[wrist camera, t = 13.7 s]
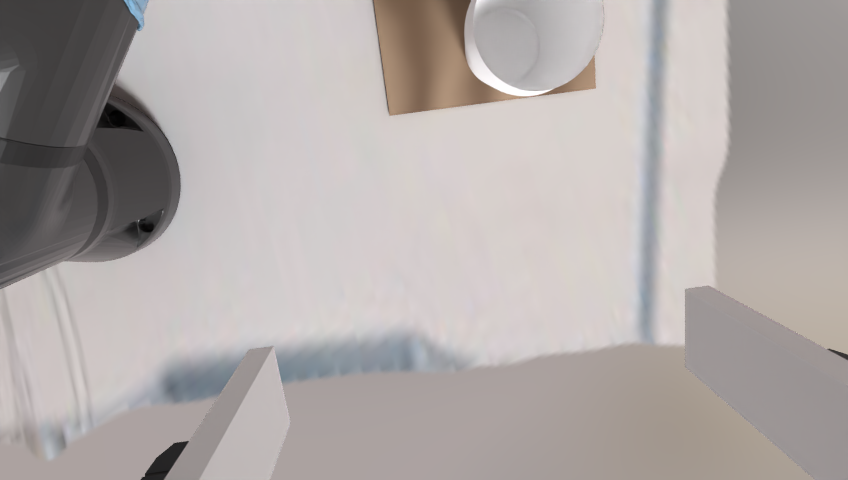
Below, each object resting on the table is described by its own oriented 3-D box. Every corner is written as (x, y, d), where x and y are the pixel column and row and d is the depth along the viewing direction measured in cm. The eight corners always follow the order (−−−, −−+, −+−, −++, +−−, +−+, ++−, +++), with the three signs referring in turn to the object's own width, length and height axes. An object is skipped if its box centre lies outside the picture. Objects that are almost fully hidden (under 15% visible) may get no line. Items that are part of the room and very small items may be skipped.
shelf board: (389, 115, 45) (389, 115, 42) (371, -17, 43) (368, -29, 39) (593, 88, 46) (609, 86, 42) (587, -45, 43) (604, -59, 39)
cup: (530, -25, 43) (580, -80, 31) (565, 75, 45) (624, 59, 33) (435, 20, 43) (448, -18, 31) (474, 117, 45) (500, 116, 33)
